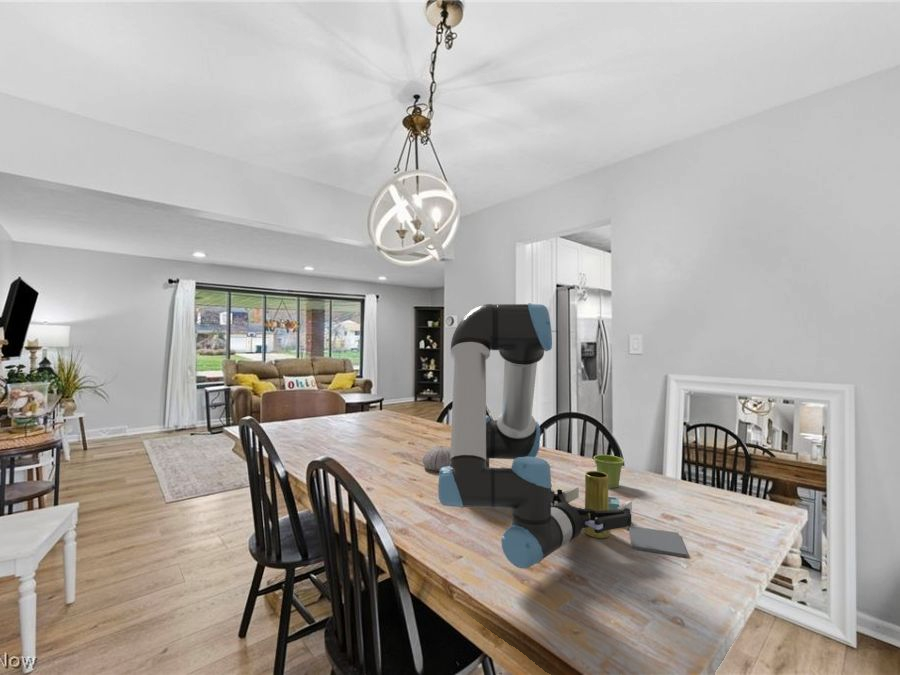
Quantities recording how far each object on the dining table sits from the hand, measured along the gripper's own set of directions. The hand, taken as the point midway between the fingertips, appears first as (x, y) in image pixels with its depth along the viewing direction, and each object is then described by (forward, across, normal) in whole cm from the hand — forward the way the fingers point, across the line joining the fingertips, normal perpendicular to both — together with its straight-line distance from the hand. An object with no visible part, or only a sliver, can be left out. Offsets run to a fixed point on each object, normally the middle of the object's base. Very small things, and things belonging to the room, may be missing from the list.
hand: (602, 498), depth 102 cm
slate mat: (+2, +12, -8) cm, 14 cm away
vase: (-3, 0, -8) cm, 8 cm away
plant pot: (+33, -13, -8) cm, 36 cm away
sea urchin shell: (+6, -65, -8) cm, 66 cm away
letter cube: (+7, -2, -8) cm, 11 cm away
